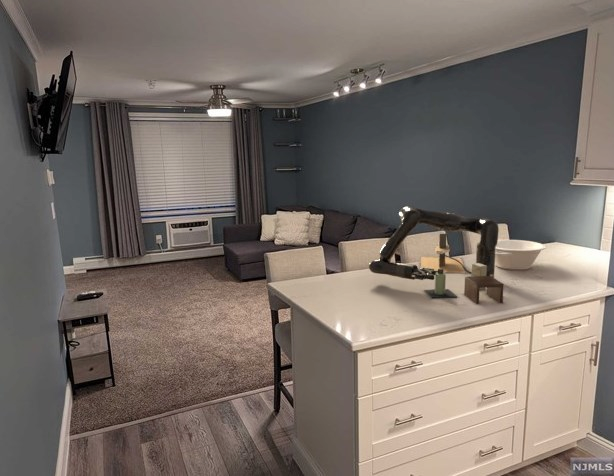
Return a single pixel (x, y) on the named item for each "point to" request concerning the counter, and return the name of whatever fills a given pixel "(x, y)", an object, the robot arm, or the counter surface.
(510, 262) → the white wash basin
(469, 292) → the shelf
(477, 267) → the cosmetic box
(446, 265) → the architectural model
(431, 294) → the mat
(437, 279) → the bottle
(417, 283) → the counter surface
